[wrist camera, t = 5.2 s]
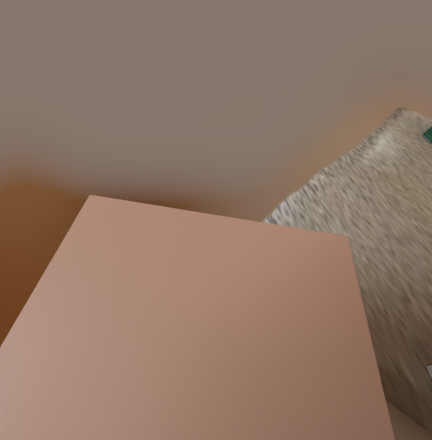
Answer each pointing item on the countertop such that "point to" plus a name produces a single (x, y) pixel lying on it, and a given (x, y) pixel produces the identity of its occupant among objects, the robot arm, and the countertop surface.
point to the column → (192, 334)
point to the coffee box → (428, 135)
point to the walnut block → (405, 426)
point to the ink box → (429, 370)
